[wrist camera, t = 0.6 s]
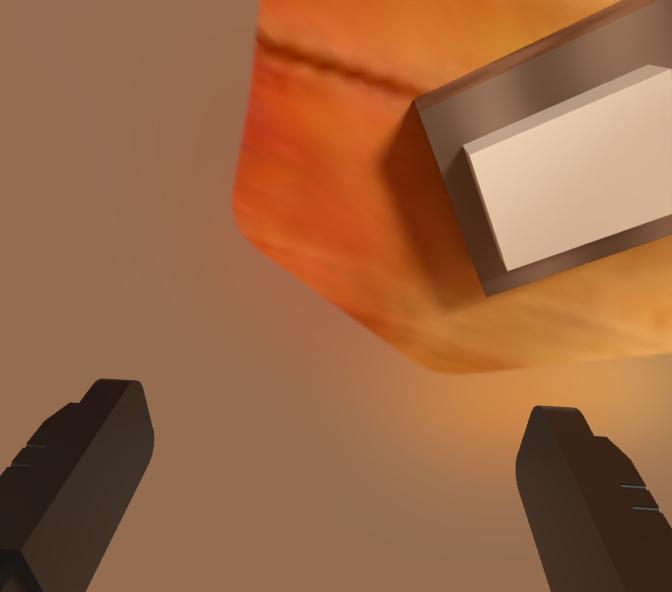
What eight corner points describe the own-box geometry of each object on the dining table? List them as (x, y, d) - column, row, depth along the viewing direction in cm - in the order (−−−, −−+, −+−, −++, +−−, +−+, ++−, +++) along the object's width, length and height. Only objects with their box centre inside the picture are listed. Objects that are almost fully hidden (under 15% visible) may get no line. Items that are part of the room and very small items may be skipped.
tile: (648, 64, 22) (671, 68, 20) (666, 195, 25) (687, 208, 23) (462, 145, 25) (469, 155, 23) (499, 255, 28) (507, 271, 26)
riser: (677, -26, 23) (729, -33, 20) (698, 187, 29) (742, 210, 25) (413, 100, 27) (418, 112, 24) (474, 267, 33) (486, 297, 29)
